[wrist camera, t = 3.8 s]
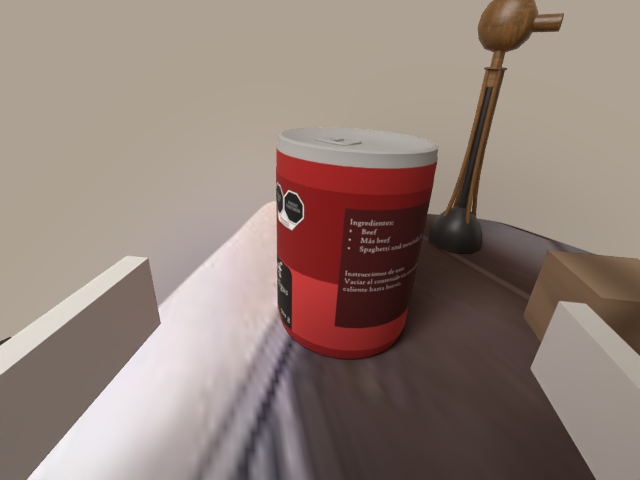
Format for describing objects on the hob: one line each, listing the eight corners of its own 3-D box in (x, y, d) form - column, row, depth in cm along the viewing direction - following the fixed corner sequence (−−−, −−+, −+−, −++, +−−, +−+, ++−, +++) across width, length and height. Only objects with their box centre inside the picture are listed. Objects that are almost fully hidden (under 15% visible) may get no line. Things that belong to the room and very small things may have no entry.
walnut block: (602, 326, 22) (637, 258, 20) (665, 389, 17) (719, 310, 15) (522, 317, 22) (548, 250, 20) (562, 376, 18) (601, 297, 15)
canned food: (305, 274, 26) (310, 123, 21) (411, 300, 23) (444, 136, 18) (252, 337, 19) (243, 138, 14) (392, 382, 17) (436, 160, 12)
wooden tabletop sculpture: (496, 244, 32) (572, -6, 24) (486, 262, 29) (571, -24, 20) (436, 228, 35) (484, 1, 27) (420, 242, 32) (471, -14, 23)
